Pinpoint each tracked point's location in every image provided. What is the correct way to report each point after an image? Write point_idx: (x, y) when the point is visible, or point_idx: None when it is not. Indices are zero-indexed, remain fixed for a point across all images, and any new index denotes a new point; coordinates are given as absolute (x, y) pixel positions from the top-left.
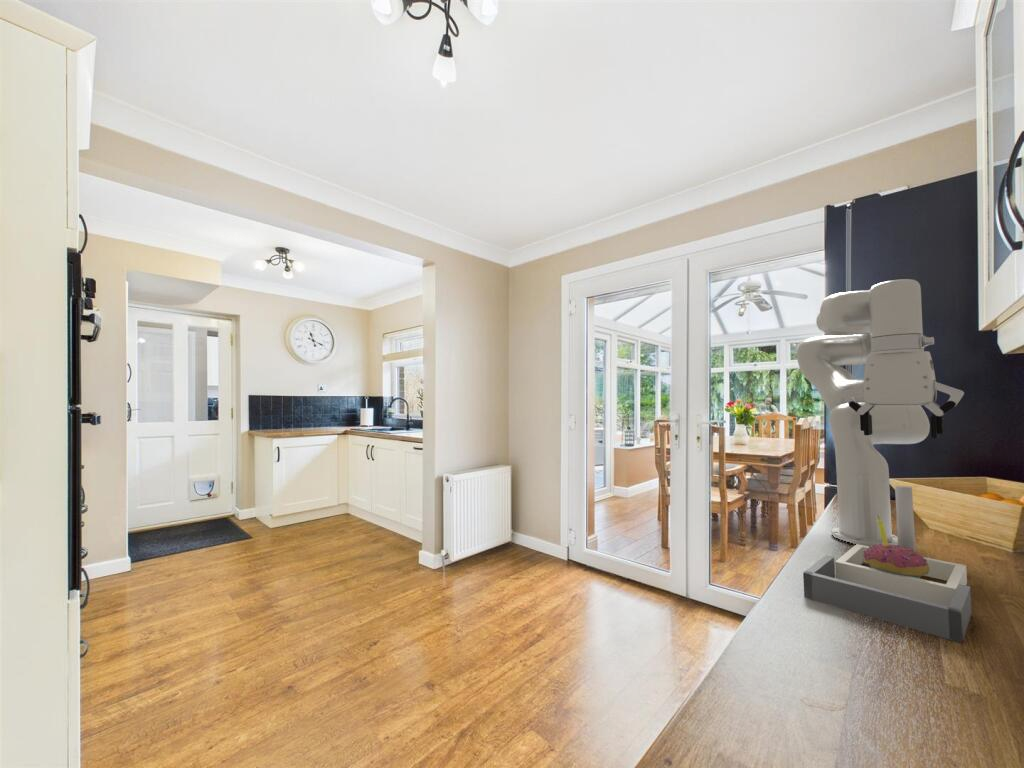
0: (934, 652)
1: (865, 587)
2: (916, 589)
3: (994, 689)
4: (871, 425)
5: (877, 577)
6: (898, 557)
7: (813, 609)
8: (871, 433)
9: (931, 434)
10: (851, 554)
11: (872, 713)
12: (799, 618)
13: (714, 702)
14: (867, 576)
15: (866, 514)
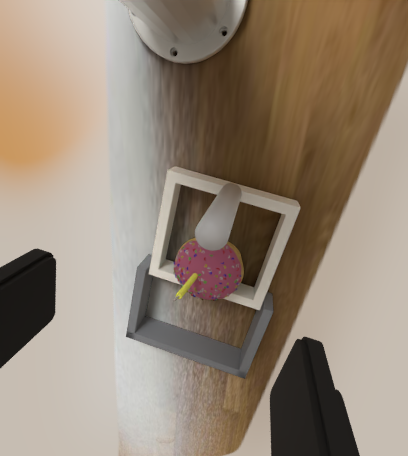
0: (224, 375)
1: (177, 353)
2: None
3: (247, 406)
4: (17, 293)
5: None
6: (207, 298)
7: None
8: (52, 274)
9: (270, 409)
10: (163, 233)
11: (185, 440)
12: (141, 359)
13: (124, 450)
14: None
15: (171, 25)
